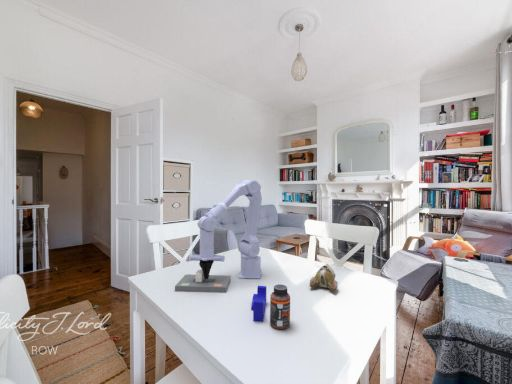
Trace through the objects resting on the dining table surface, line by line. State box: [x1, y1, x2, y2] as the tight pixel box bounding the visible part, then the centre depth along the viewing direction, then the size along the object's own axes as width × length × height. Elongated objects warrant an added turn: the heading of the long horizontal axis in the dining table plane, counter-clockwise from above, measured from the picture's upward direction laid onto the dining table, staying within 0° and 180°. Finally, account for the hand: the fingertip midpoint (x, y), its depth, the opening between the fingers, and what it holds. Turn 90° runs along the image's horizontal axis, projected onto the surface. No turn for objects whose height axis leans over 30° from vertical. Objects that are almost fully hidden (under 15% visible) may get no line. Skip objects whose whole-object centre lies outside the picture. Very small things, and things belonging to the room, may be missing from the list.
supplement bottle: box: [269, 283, 291, 330], centre depth 70 cm, size 6×6×11 cm
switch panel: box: [174, 274, 231, 293], centre depth 97 cm, size 20×12×2 cm, turn 88°
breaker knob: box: [194, 268, 204, 282], centre depth 97 cm, size 2×5×4 cm, turn 178°
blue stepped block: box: [250, 285, 267, 323], centre depth 77 cm, size 12×4×6 cm, turn 173°
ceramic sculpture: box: [309, 263, 338, 292], centre depth 97 cm, size 11×9×15 cm
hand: (206, 278), depth 97 cm, fingers closed
